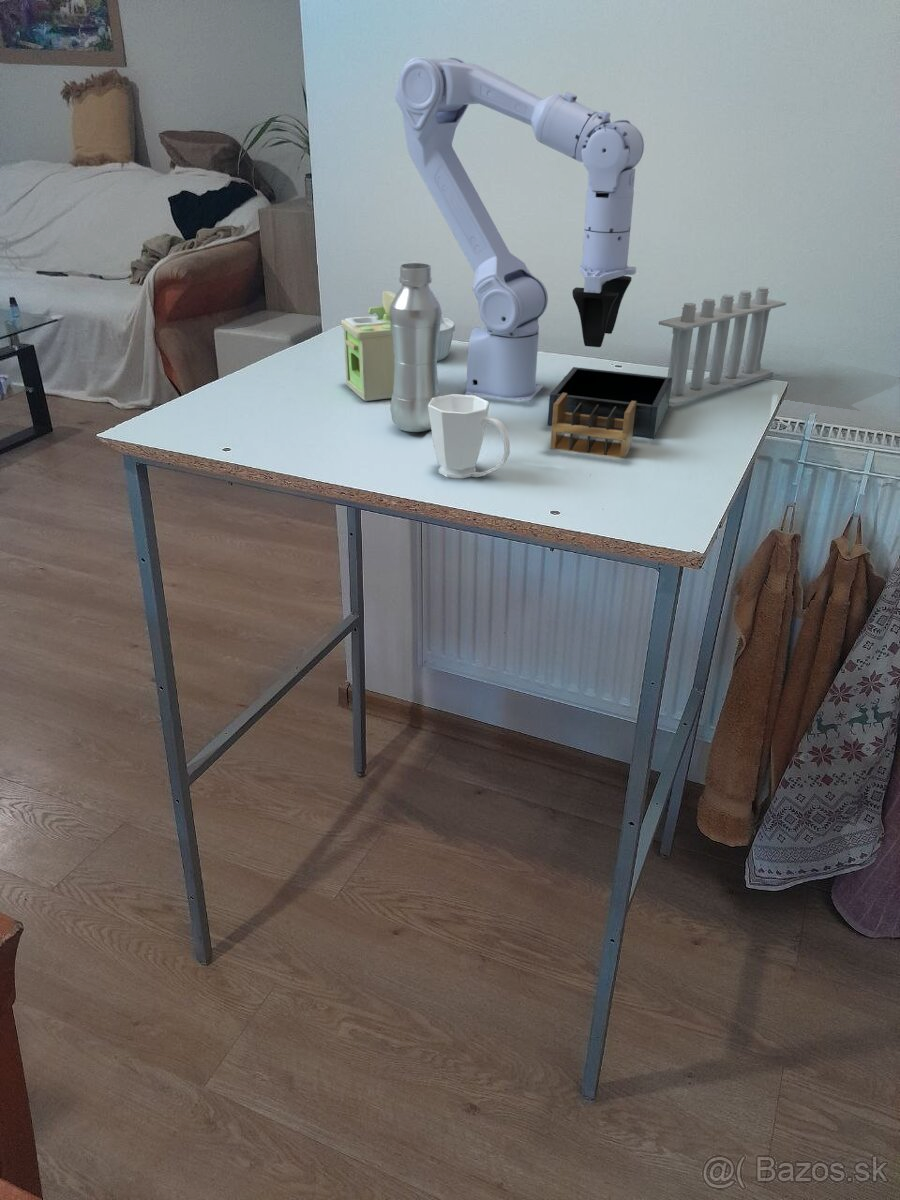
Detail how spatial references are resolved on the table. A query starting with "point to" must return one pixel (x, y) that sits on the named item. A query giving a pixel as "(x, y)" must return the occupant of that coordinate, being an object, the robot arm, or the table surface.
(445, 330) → the ramekin
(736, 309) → the test tube rack
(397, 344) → the silver bottle
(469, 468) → the cup
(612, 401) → the dark grey open box
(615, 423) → the dish rack
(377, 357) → the toy sink
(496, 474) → the table surface
